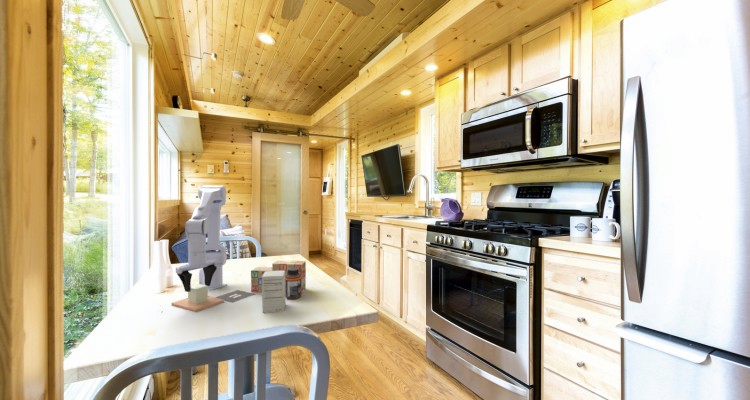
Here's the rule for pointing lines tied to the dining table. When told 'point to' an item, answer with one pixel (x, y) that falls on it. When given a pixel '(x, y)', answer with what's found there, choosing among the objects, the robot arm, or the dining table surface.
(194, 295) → the sage block
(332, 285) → the dining table surface
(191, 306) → the plate
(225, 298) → the mat
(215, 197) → the robot arm
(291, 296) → the supplement bottle
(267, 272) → the supplement box
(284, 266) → the stack of blocks
